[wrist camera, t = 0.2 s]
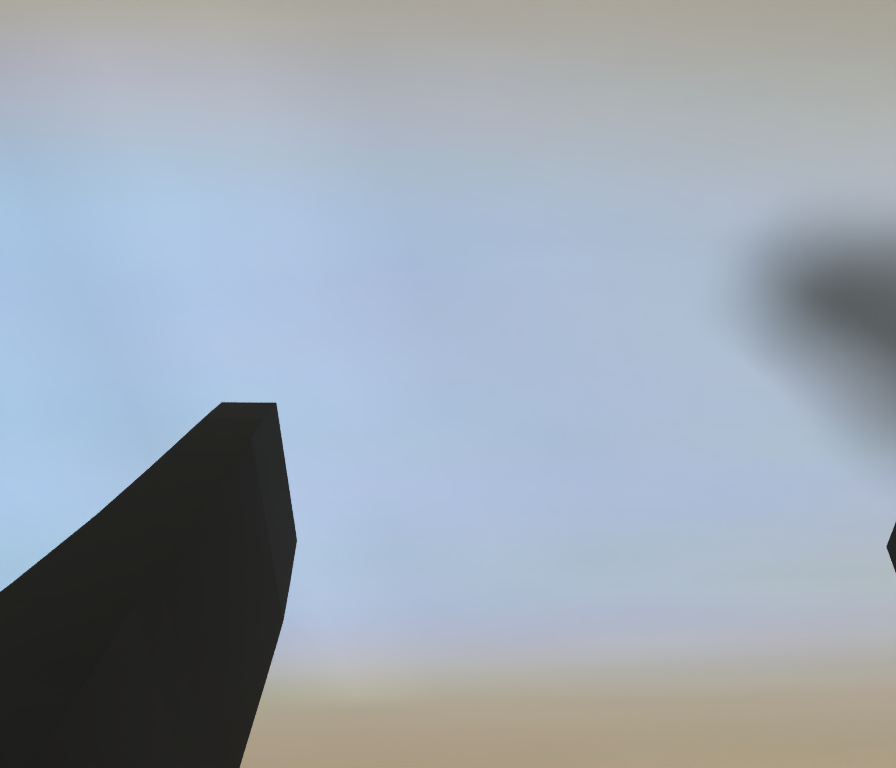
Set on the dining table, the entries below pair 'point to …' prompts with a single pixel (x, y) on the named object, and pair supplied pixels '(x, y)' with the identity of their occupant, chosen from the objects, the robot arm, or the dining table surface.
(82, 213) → the dining table surface
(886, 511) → the dining table surface
